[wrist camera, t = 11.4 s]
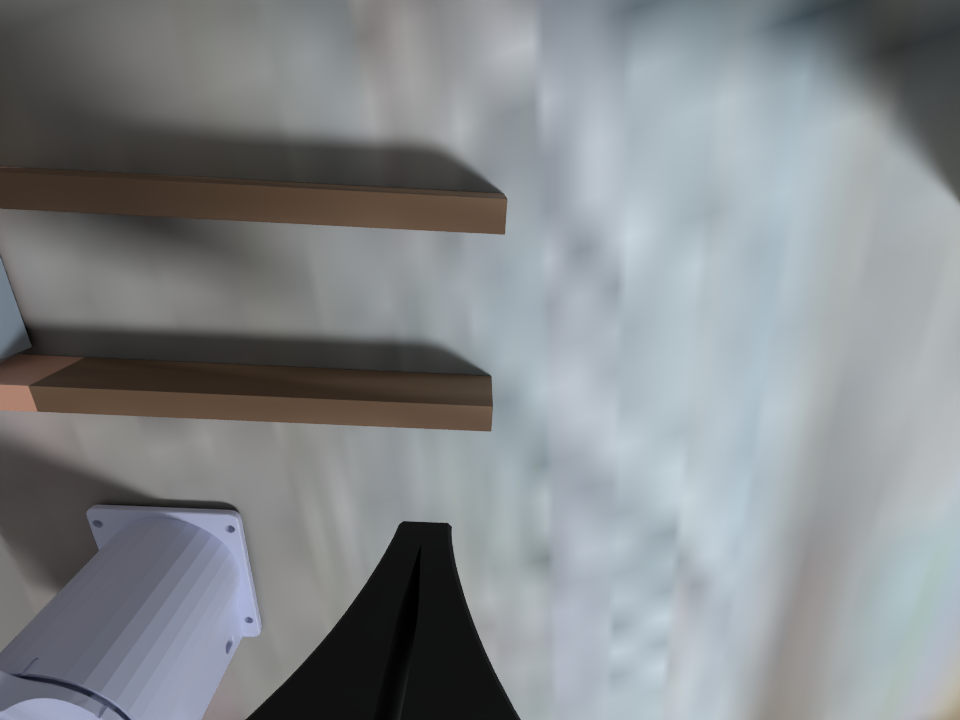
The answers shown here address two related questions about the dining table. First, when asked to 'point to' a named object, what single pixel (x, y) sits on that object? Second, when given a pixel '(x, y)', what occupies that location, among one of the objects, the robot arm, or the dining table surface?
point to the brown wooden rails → (237, 385)
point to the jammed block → (10, 321)
